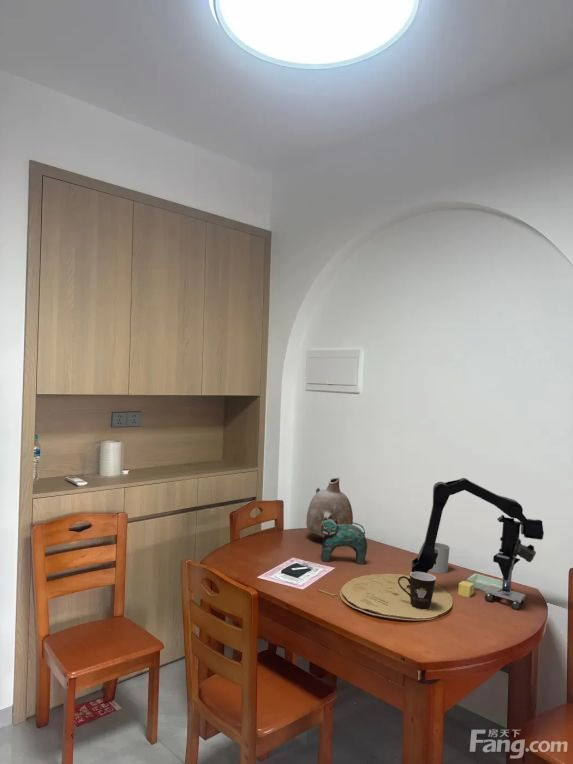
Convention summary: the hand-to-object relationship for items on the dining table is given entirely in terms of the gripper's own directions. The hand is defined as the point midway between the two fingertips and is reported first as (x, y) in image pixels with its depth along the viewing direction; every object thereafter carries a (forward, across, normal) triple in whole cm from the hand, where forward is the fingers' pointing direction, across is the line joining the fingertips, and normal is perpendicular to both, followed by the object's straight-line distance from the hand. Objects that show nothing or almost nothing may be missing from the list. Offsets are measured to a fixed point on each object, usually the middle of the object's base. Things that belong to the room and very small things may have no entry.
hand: (506, 579), depth 196 cm
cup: (+8, +16, +31) cm, 36 cm away
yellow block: (+8, -4, +13) cm, 16 cm away
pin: (+4, 0, 0) cm, 4 cm away
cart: (+8, 0, 0) cm, 8 cm away
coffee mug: (+8, -28, +22) cm, 37 cm away
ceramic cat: (+8, -8, +63) cm, 64 cm away
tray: (+8, +11, +9) cm, 16 cm away
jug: (+8, +14, +83) cm, 85 cm away
